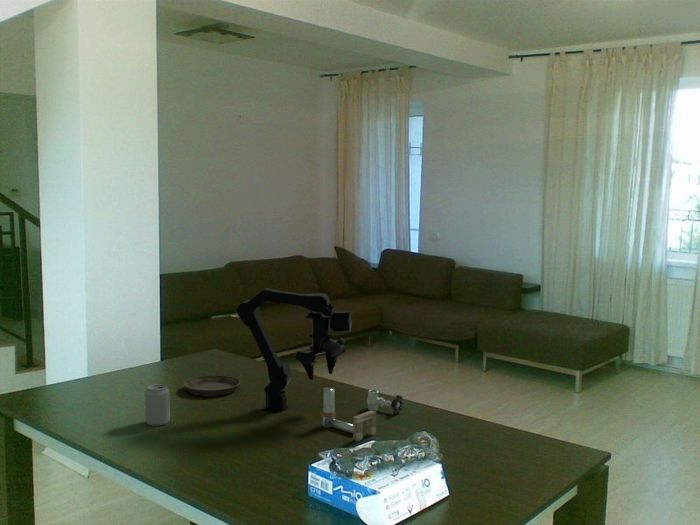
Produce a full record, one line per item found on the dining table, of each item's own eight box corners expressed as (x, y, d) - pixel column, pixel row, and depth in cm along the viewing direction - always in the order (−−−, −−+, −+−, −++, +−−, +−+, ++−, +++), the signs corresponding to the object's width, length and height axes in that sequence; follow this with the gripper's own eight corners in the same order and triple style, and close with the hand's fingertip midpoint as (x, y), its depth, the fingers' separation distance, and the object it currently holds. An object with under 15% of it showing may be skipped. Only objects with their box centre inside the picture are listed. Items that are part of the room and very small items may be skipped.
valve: (363, 411, 230) (394, 417, 224) (363, 392, 229) (394, 398, 223) (372, 406, 235) (403, 411, 229) (372, 387, 235) (403, 393, 229)
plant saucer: (213, 379, 267) (213, 371, 266) (251, 389, 255) (251, 380, 254) (172, 392, 250) (172, 383, 250) (210, 402, 238) (210, 393, 238)
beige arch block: (353, 441, 202) (353, 417, 201) (370, 433, 208) (371, 410, 207) (358, 442, 201) (358, 418, 200) (376, 435, 207) (376, 411, 206)
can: (174, 421, 218) (174, 384, 217) (159, 428, 211) (158, 391, 210) (156, 417, 221) (155, 381, 220) (140, 424, 214) (139, 387, 213)
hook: (318, 425, 214) (319, 389, 213) (328, 422, 217) (328, 386, 216) (352, 436, 205) (352, 398, 203) (361, 433, 208) (362, 395, 207)
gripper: (318, 339, 213) (318, 387, 215) (357, 330, 227) (357, 375, 229) (293, 334, 221) (294, 381, 222) (332, 325, 234) (333, 369, 236)
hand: (321, 376), depth 227 cm, fingers open, 9 cm apart
